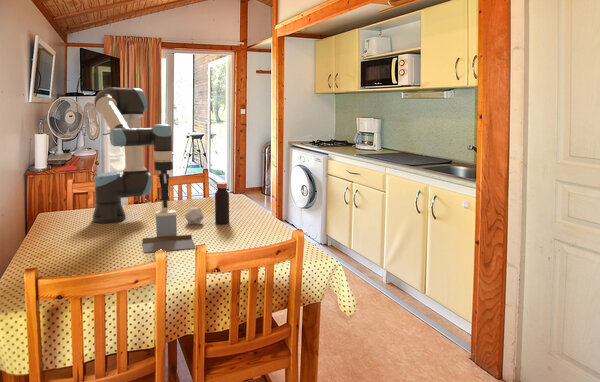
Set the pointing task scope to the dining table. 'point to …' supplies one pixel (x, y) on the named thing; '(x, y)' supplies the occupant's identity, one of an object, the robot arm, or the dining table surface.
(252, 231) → the dining table surface
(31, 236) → the dining table surface
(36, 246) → the dining table surface
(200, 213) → the grey faceted rock
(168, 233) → the tall block
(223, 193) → the bottle
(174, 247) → the mat
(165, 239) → the rail
